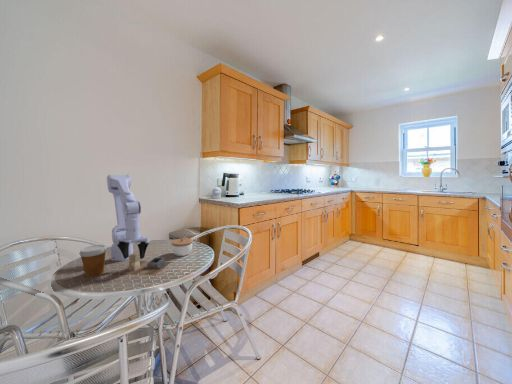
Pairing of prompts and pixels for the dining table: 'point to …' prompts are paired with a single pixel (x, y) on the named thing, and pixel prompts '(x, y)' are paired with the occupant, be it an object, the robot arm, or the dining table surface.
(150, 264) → the grey square socket
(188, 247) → the lidded jar
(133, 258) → the tan wooden block
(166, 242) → the dining table surface
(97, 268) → the disposable coffee cup
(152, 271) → the walnut board
